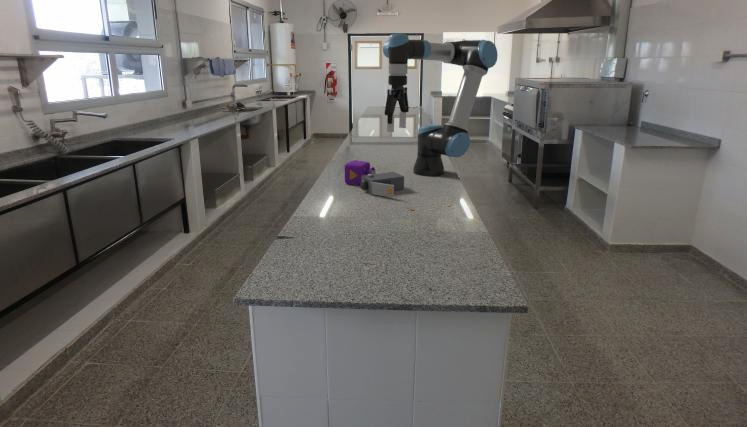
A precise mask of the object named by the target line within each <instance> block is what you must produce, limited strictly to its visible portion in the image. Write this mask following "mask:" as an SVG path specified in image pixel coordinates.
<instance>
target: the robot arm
mask: <svg viewBox="0 0 747 427" xmlns="http://www.w3.org/2000/svg"><path fill="white" fill-rule="evenodd" d="M382 53H383V55H384V57H386V58H387V59H388V66H387V67H388V74H389V75H388V85H389V86H391V88H389V89H388V88H387V92H386V94H387V95H386V102H385V107H384V115H385V116H387V118H386V119H387V122H386V123H387V124H386V131H387V132H388V133H394V132H395V115H394V113H395V110H396V106H397V103H398V106H399V110H400V111H399V118H398V120H399V127H398V128H400V129H406V127H407V125H406V124H407V113H409V109H410V107H409V99H408V87H404V86H407V85H408V76H407V75H408V66H409V65H408V63H409V62H408V61H409V60H419V61H420V60H421V61H422V60H424V61H439V62H442V63H443V64H451V65H456V66H460V67H462V69H463V71H464V72H463V75H462V78H461V80H460V83H459V84H460V85H459V87H458V90H457V93H456V97H455V99H454V104H453V105H452V106H453V107H452V109H451V113H450V116H449V118H448V121H447V122H445V123H444V124H443V125H442V124H433V125H423V126H420V127H419V128H418V131H417V132H418V133H417V157H416V159H415V162H414V165H413V168H412V169H413V170H412V171H413V173H414V174H415V175H419V176H425V177H426V176H429V177H430V176H431V177H432V176H433V177H434V176H441V175H443V174H445V167H444V163H443V159H442V156H447V157H449V158H461V157H462V156H464V155H465V154H466V153H467V152H468V151H469V148H470V146H471V145H470V144H471V139H470V135H469V130H468V128H467V126H468V122H469V120H470V117H471V114H472V110H473V108H474V104H475V102H476V98H477V94H478V92H479V88H480V86H481V82H482V79H483V77H484V76H486V75H487V74H488V71H489V69H491V68H493V67H494V66H495V65H496V63H497V61H498V56H499V54H498V49H497V47H496V44H495V43H494V42H493V41H492V40H485V39H481V40H480V39H479V40H478V39H477V40H476V39H475V40H474V39H472V40H470V39H469V40H466V39H465V40H457V41H445V42H443V43H441V42H440V43H438V42H429V40H425V39H409V35H408V34H406V33H405V34H404V33H393V34H390V35H389V39H388V40H386V41H385V42H384V44H383V45H382Z"/></svg>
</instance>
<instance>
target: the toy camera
mask: <svg viewBox="0 0 747 427" xmlns="http://www.w3.org/2000/svg"><path fill="white" fill-rule="evenodd" d="M368 174H376V169H375V167H371V163H370V162H369V161H364V160H357V159H355V158H354V159H352V160H351V161H349V162H347V163H345V165H344V182H345V184H349V185H354V186H361V176H362V175H368Z"/></svg>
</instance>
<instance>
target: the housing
mask: <svg viewBox="0 0 747 427" xmlns="http://www.w3.org/2000/svg"><path fill="white" fill-rule="evenodd" d="M371 181H373V182H376V183H382V184H389V185H394V192H399V191H404V190H405V176H404V175H402V174H400V173H397V172H396V171H391V172H380V173H375V174H368V175H362V176H361V185H360V188H361V189H360V190H362V191H365V192H366V193H368V194H369V195H371Z"/></svg>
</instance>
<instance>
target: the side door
mask: <svg viewBox="0 0 747 427" xmlns="http://www.w3.org/2000/svg"><path fill="white" fill-rule="evenodd" d="M370 195H371V196H372V195H373V196H374V195H375V196H380V197H381V196H382V197H387V198H395V191H394V185H389V184H382V183H376V182H373V181H371V194H370Z"/></svg>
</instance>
